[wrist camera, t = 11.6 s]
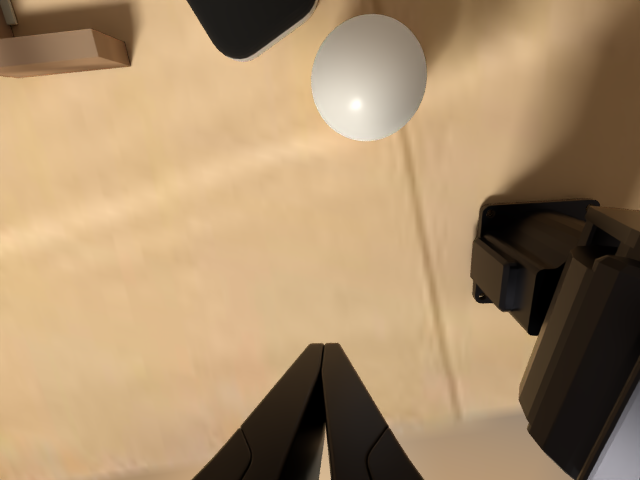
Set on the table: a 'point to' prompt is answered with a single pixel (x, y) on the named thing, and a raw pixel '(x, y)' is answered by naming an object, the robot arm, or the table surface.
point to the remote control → (250, 23)
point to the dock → (55, 50)
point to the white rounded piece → (369, 77)
